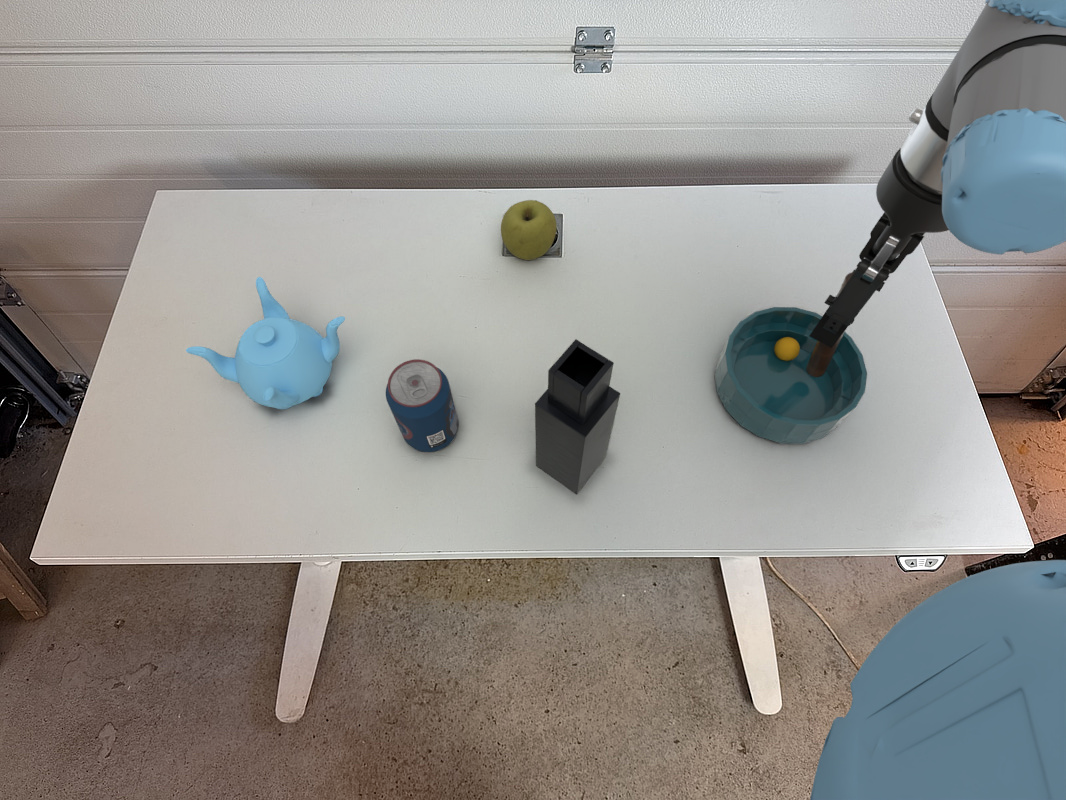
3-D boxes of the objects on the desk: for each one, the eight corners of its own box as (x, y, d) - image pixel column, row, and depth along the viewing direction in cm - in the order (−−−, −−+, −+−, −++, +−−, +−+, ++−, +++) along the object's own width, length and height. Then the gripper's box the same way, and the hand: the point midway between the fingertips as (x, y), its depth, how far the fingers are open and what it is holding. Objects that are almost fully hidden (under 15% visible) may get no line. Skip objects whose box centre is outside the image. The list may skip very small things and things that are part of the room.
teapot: (222, 391, 81) (182, 349, 72) (291, 318, 86) (262, 270, 77) (298, 439, 77) (266, 401, 68) (366, 360, 83) (345, 315, 74)
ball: (792, 365, 79) (776, 348, 78) (781, 365, 82) (765, 349, 81) (809, 348, 79) (793, 331, 78) (797, 349, 82) (781, 332, 81)
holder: (576, 494, 74) (589, 408, 54) (535, 465, 75) (533, 372, 56) (605, 456, 76) (628, 360, 56) (565, 429, 78) (573, 327, 58)
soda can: (395, 417, 79) (373, 368, 68) (448, 397, 80) (434, 345, 69) (414, 465, 76) (393, 420, 65) (468, 443, 77) (456, 396, 66)
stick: (815, 380, 77) (857, 291, 63) (801, 368, 78) (840, 278, 64) (828, 371, 77) (873, 281, 64) (815, 359, 78) (856, 268, 65)
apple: (491, 256, 91) (488, 220, 84) (523, 220, 94) (521, 183, 87) (536, 279, 89) (535, 244, 82) (566, 242, 92) (568, 205, 85)
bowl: (809, 471, 75) (829, 451, 69) (689, 398, 79) (700, 374, 74) (866, 376, 81) (889, 351, 75) (752, 313, 85) (766, 285, 80)
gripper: (934, 97, 55) (826, 273, 76) (860, 201, 49) (765, 360, 70) (1023, 133, 52) (886, 303, 73) (955, 246, 47) (828, 396, 68)
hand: (827, 331), depth 72 cm, fingers closed on stick, 2 cm apart
